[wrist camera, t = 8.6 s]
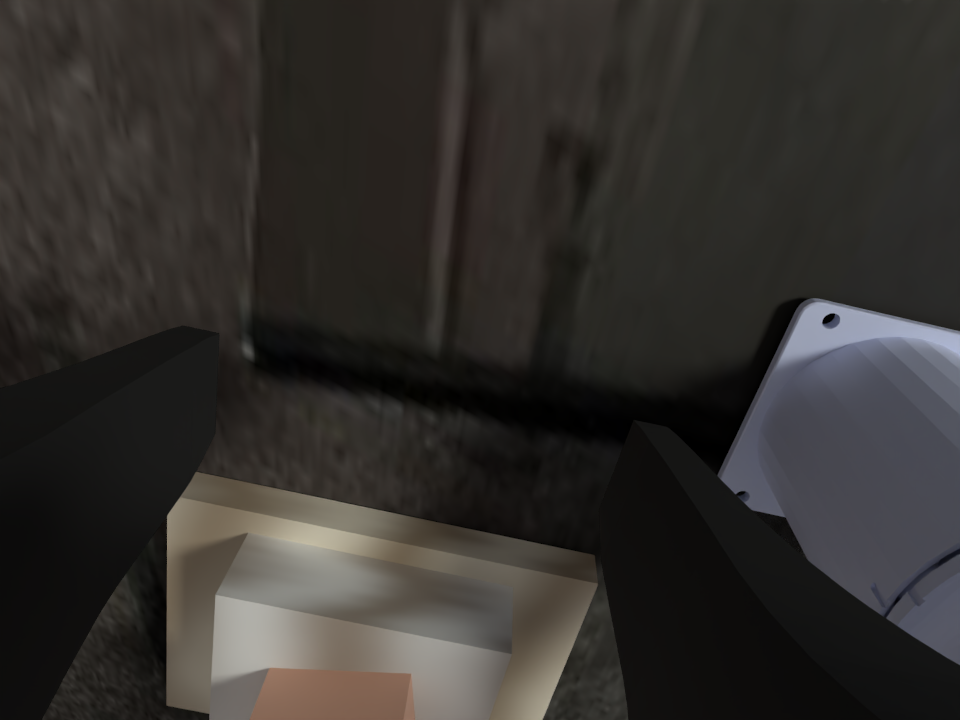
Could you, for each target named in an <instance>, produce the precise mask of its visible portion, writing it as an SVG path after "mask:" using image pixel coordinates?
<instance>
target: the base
mask: <svg viewBox="0 0 960 720" xmlns="http://www.w3.org/2000/svg"><path fill="white" fill-rule="evenodd" d="M597 586H598V578H597V570H596V562H595V555H592V554H587V553H582V552H577V551H573V550H568V549H563V548H558V547H553V546H549V545H544V544H539V543H534V542H530V541H525V540H520V539H515V538H510V537H506V536H501V535H496V534H491V533H487V532H482V531H477V530H472V529H467V528H463V527H458V526H453V525H448V524H443V523H439V522H434V521H429V520H424V519H420V518H415V517H410V516H405V515H400V514H396V513H391V512H386V511H381V510H377V509H372V508H367V507H362V506H357V505H353V504H348V503H343V502H338V501H334V500H329V499H324V498H319V497H314V496H310V495H305V494H300V493H295V492H290V491H286V490H281V489H276V488H271V487H267V486H262V485H257V484H252V483H247V482H243V481H238V480H233V479H228V478H224V477H219V476H214V475H209V474H204V473H200V472H196V473H195V474H194V476H193V478H192V480H191V482H190V483H189V485H188V486H187V488H186V489H185V491H184V492H183V494H182V495H181V496H180V498H179V499H178V501H177V502H176V504H175V505H174V506H173V508H172V509H171V511H170V512H169V514H168V515H167V706H171V707H177V708H182V709H187V710H192V711H197V712H203V713H208V714H210V715H209V720H249V719H250V717H251V714H252V712H253V709H254V707H255V704H256V701H257V699H258V696H259V694H260V691H261V689H262V686H263V683H264V681H265V678H266V676H267V673H268V671H269V668H289V669H312V670H336V671H360V672H384V673H407V674H411V676H412V688H413V699H414V711H415V720H542V719H543V717H544V715H545V712H546V710H547V707H548V705H549V702H550V700H551V698H552V695H553V693H554V690H555V688H556V685H557V683H558V681H559V678H560V676H561V673H562V671H563V668H564V666H565V664H566V661H567V659H568V656H569V654H570V651H571V649H572V647H573V644H574V642H575V639H576V637H577V634H578V632H579V630H580V627H581V625H582V622H583V620H584V617H585V615H586V613H587V610H588V608H589V605H590V603H591V600H592V598H593V596H594V593H595V591H596V588H597Z"/></svg>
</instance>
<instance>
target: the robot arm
mask: <svg viewBox="0 0 960 720" xmlns="http://www.w3.org/2000/svg"><path fill="white" fill-rule="evenodd" d="M830 313H835V317H834V319H833V320H832V321H831V322H829V323H827V324H822V321H823V319H824V317H825V316H826V315H828V314H830ZM218 354H219V333H216V332H211V331H206V330H201V329H197V328H192V327H187V326H180V327H176V328H172V329H169V330H166V331H163V332H160V333H158V334H155V335H152V336H149V337H147V338H144V339H141V340H139V341H136V342H133V343H131V344H128V345H126V346H123V347H120V348H118V349H115V350H112V351H110V352H107V353H104V354H102V355H99V356H96V357H94V358H91V359H88V360H86V361H83V362H80V363H77V364H75V365H71V366H68V367H65V368H62V369H59V370H56V371H53V372H50V373H47V374H44V375H41V376H38V377H35V378H32V379H29V380H26V381H23V382H20V383H17V384H14V385H11V386H7V387H4V388H0V720H42V718H43V716H44V714H45V712H46V710H47V708H48V707H49V705H50V703H51V701H52V699H53V697H54V695H55V693H56V692H57V690H58V688H59V686H60V684H61V682H62V680H63V678H64V677H65V675H66V673H67V671H68V669H69V667H70V665H71V664H72V662H73V660H74V658H75V656H76V655H77V653H78V651H79V649H80V648H81V646H82V644H83V642H84V640H85V639H86V637H87V635H88V633H89V631H90V630H91V628H92V626H93V624H94V623H95V621H96V619H97V617H98V615H99V614H100V612H101V610H102V609H103V607H104V606H105V604H106V602H107V601H108V599H109V598H110V596H111V595H112V593H113V592H114V590H115V589H116V587H117V585H118V584H119V583H120V581H121V580H122V578H123V577H124V576H125V574H126V573H127V571H128V570H129V569H130V567H131V566H132V564H133V563H134V562H135V560H136V559H137V557H138V556H139V554H140V553H141V552H142V550H143V549H144V547H145V546H146V545H147V543H148V542H149V540H150V539H151V538H152V536H153V535H154V533H155V532H156V531H157V529H158V528H159V526H160V525H161V524H162V522H163V521H164V519H165V518H166V516H167V515H168V514H169V512H170V511H171V509H172V508H173V506H174V505H175V504H176V502H177V501H178V499H179V498H180V496H181V495H182V494H183V492H184V491H185V489H186V488H187V486H188V485H189V483H190V482H191V480H192V478H193V476H194V474H195V473H196V471H197V469H198V467H199V465H200V463H201V461H202V459H203V457H204V455H205V453H206V451H207V449H208V447H209V445H210V443H211V441H212V439H213V437H214V435H215V427H216V403H217V378H218ZM740 491H746V492H745V493H744V494H743V495H741V496H737V495H736V494H737V493H738V492H740ZM752 510H753V511H758V512H763V513H767V514H772V515H777V516H781V517H786V519H787V521H788V523H789V525H790V527H791V529H792V531H793V533H794V534H795V536H796V538H797V540H798V542H799V544H800V546H801V548H802V550H803V552H804V554H805V556H806V557H807V559H808V560H807V559H806V558H805V557H803V556H802V555H801V554H800V553H799V552H797V551H796V550H795V549H794V548H793V547H792V546H790V545H789V544H788V543H787V542H786V541H785V540H784V539H783V538H781V537H780V536H779V535H778V534H777V533H776V532H775V531H774V530H773V529H772V528H770V527H769V526H768V525H767V524H766V523H765V522H764V521H763V520H762V519H761V518H759V517H758V516H757V515H756V514H755V513H754V512H753V511H752ZM599 529H600V550H601V563H602V568H603V574H604V580H605V585H606V591H607V596H608V601H609V607H610V612H611V617H612V622H613V627H614V633H615V638H616V643H617V648H618V653H619V658H620V664H621V669H622V674H623V679H624V686H625V693H626V700H627V707H628V719H629V720H960V331H956V330H952V329H947V328H943V327H939V326H934V325H930V324H926V323H921V322H917V321H913V320H909V319H904V318H900V317H896V316H891V315H887V314H883V313H878V312H874V311H870V310H865V309H861V308H857V307H852V306H848V305H844V304H839V303H835V302H831V301H827V300H822V299H815V298H812V299H808V300H805V301H804V302H803V303H801V304H800V305H799V306H798V308H797V309H796V311H795V313H794V315H793V317H792V319H791V321H790V324H789V326H788V328H787V330H786V332H785V334H784V336H783V338H782V340H781V342H780V345H779V347H778V349H777V351H776V353H775V355H774V357H773V359H772V361H771V363H770V366H769V368H768V370H767V372H766V374H765V376H764V378H763V380H762V382H761V384H760V387H759V389H758V391H757V393H756V395H755V397H754V399H753V401H752V403H751V406H750V408H749V410H748V412H747V414H746V416H745V418H744V420H743V422H742V424H741V427H740V429H739V431H738V433H737V435H736V437H735V439H734V441H733V443H732V445H731V448H730V450H729V452H728V454H727V456H726V458H725V460H724V462H723V464H722V466H721V469H720V471H719V473H718V475H716V474H715V473H714V472H713V471H712V470H711V469H710V468H709V467H708V466H707V465H706V464H705V463H704V462H703V461H702V460H701V459H700V458H699V456H698V455H697V454H696V453H695V452H694V451H693V450H692V449H691V448H690V447H689V446H688V445H687V444H686V443H685V442H684V441H683V440H682V439H681V438H679V437H678V436H677V435H676V434H675V433H674V432H673V431H672V430H670V429H669V428H668V427H665V426H660V425H656V424H651V423H646V422H641V421H636V420H634V421H633V423H632V426H631V428H630V431H629V433H628V436H627V439H626V441H625V444H624V446H623V449H622V451H621V454H620V457H619V459H618V462H617V464H616V467H615V470H614V472H613V475H612V477H611V480H610V482H609V485H608V488H607V490H606V493H605V495H604V498H603V500H602V503H601V506H600V508H599Z"/></svg>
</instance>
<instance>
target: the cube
mask: <svg viewBox="0 0 960 720" xmlns="http://www.w3.org/2000/svg"><path fill="white" fill-rule="evenodd" d="M249 720H415V711H414V699H413V688H412V676H411V674H407V673H384V672H360V671H336V670H312V669H289V668H269V671H268V673H267V676H266V678H265V681H264V683H263V686H262V689H261V691H260V694H259V696H258V699H257V701H256V704H255V707H254V709H253V712H252V714H251V717H250V719H249Z"/></svg>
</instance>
